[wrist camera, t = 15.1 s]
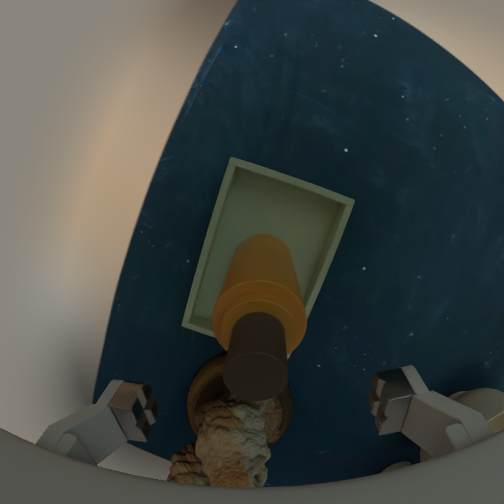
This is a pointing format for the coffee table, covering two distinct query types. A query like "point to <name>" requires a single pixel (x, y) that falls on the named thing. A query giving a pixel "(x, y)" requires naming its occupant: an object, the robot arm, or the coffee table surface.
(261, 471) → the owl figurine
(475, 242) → the coffee table surface
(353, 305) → the coffee table surface
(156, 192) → the coffee table surface
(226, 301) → the bottle
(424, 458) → the bowl
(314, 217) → the tray
